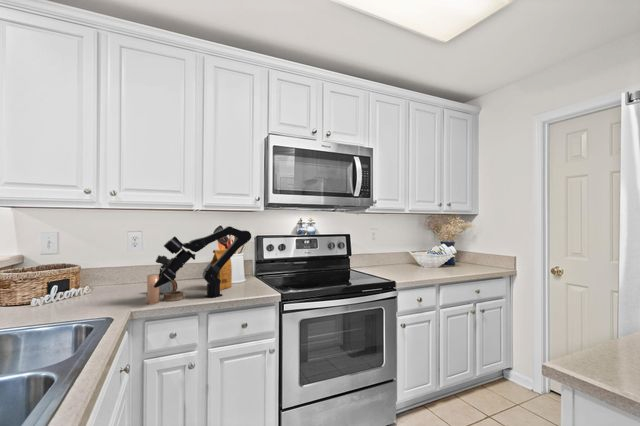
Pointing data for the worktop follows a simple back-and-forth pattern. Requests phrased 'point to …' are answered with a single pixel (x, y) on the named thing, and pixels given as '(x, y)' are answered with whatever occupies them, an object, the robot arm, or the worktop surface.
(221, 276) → the coffee package
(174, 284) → the tin
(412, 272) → the worktop surface
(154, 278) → the canister
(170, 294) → the holder
